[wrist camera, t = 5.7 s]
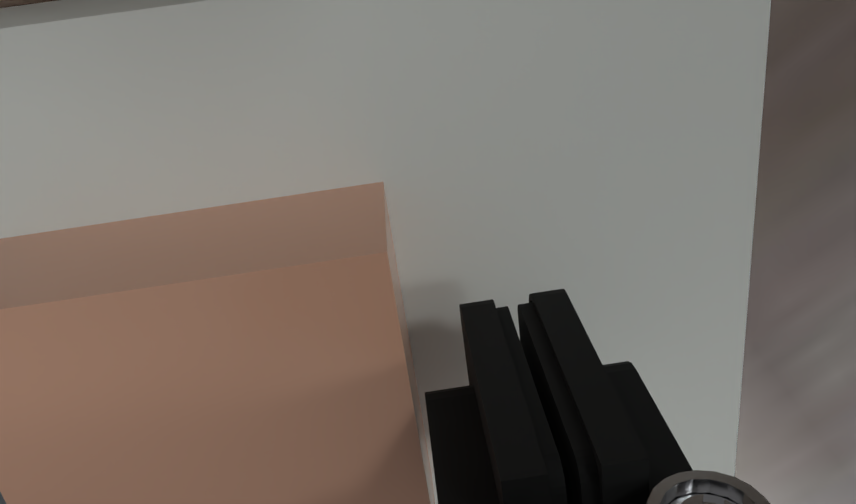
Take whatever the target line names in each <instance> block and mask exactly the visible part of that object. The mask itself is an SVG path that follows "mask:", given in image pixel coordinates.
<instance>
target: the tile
mask: <svg viewBox="0 0 856 504" xmlns="http://www.w3.org/2000/svg"><path fill="white" fill-rule="evenodd" d="M0 492H1V494H2V496H3V498H4V500H5V502H6V504H435V497H434V487H433V478H432V471H431V465H430V459H429V453H428V447H427V441H426V435H425V429H424V423H423V417H422V411H421V405H420V399H419V393H418V387H417V381H416V375H415V369H414V363H413V357H412V351H411V345H410V339H409V333H408V327H407V321H406V315H405V308H404V302H403V296H402V290H401V284H400V278H399V272H398V266H397V260H396V254H395V248H394V242H393V236H392V230H391V224H390V218H389V212H388V206H387V200H386V194H385V188H384V182H377V183H370V184H364V185H357V186H350V187H343V188H337V189H330V190H323V191H316V192H310V193H303V194H296V195H290V196H283V197H276V198H269V199H263V200H256V201H249V202H243V203H236V204H229V205H223V206H216V207H209V208H202V209H196V210H189V211H182V212H176V213H169V214H162V215H156V216H149V217H142V218H135V219H129V220H122V221H115V222H109V223H102V224H95V225H88V226H82V227H75V228H68V229H62V230H55V231H48V232H42V233H35V234H28V235H21V236H15V237H8V238H1V239H0Z"/></svg>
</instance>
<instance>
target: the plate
mask: <svg viewBox="0 0 856 504" xmlns="http://www.w3.org/2000/svg"><path fill="white" fill-rule="evenodd" d="M770 9H771V0H57V1H50V2H42V3H35V4H28V5H20V6H13V7H6V8H0V239H1V238H8V237H15V236H21V235H28V234H35V233H42V232H48V231H55V230H62V229H68V228H75V227H82V226H88V225H95V224H102V223H109V222H115V221H122V220H129V219H135V218H142V217H149V216H156V215H162V214H169V213H176V212H182V211H189V210H196V209H202V208H209V207H216V206H223V205H229V204H236V203H243V202H249V201H256V200H263V199H269V198H276V197H283V196H290V195H296V194H303V193H310V192H316V191H323V190H330V189H337V188H343V187H350V186H357V185H364V184H370V183H377V182H384V188H385V194H386V200H387V206H388V212H389V218H390V224H391V230H392V236H393V242H394V248H395V254H396V260H397V266H398V272H399V278H400V284H401V290H402V296H403V302H404V308H405V315H406V321H407V327H408V333H409V339H410V345H411V351H412V357H413V363H414V369H415V375H416V381H417V387H418V393H419V399H420V405H421V411H422V417H423V423H424V429H425V435H426V441H427V447H428V453H429V459H430V465H431V471H432V478H433V487H434V497H435V504H438V499H437V491H436V483H435V475H434V466H433V458H432V450H431V442H430V434H429V426H428V417H427V409H426V401H425V392H429V391H436V390H442V389H449V388H455V387H462V386H468V385H469V380H468V372H467V364H466V356H465V349H464V341H463V333H462V325H461V317H460V308H459V304H465V303H471V302H478V301H485V300H491V299H493V300H494V303H495V306H496V308H498V307H505V306H508V308H509V310H510V313H511V316H512V319H513V322H514V325H515V328H516V331H517V334H518V337H519V340H520V334H519V322H518V310H517V309H518V304H525V303H529V294H531V293H537V292H544V291H550V290H557V289H565V291H566V292H567V294H568V296H569V298H570V300H571V302H572V304H573V306H574V308H575V310H576V312H577V314H578V316H579V318H580V320H581V322H582V325H583V327H584V329H585V331H586V333H587V335H588V337H589V339H590V341H591V343H592V345H593V347H594V349H595V351H596V353H597V355H598V357H599V359H600V361H601V363H602V365H605V364H612V363H618V362H625V361H629V362H631V363H632V364H633V365H634V367H635V368H636V370H637V372H638V373H639V375H640V377H641V379H642V381H643V382H644V384H645V386H646V388H647V389H648V391H649V393H650V395H651V397H652V398H653V400H654V402H655V404H656V405H657V407H658V409H659V411H660V413H661V414H662V416H663V418H664V420H665V421H666V423H667V425H668V427H669V429H670V430H671V432H672V434H673V436H674V437H675V439H676V441H677V443H678V445H679V446H680V448H681V450H682V452H683V454H684V455H685V457H686V459H687V461H688V462H689V464H690V466H691V468H692V470H702V471H715V472H719V473H723V474H726V475H730V476H733V477H734V476H735V463H736V450H737V437H738V424H739V411H740V398H741V385H742V372H743V359H744V346H745V333H746V320H747V307H748V294H749V281H750V269H751V256H752V243H753V230H754V217H755V204H756V191H757V178H758V165H759V152H760V139H761V126H762V113H763V100H764V87H765V74H766V61H767V48H768V35H769V22H770Z"/></svg>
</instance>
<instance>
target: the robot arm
mask: <svg viewBox="0 0 856 504" xmlns="http://www.w3.org/2000/svg"><path fill="white" fill-rule="evenodd" d="M459 308H460V317H461V325H462V333H463V341H464V349H465V356H466V364H467V372H468V380H469V385H468V386H462V387H455V388H449V389H442V390H436V391H429V392H425V401H426V409H427V417H428V426H429V434H430V442H431V450H432V458H433V466H434V475H435V483H436V491H437V499H438V504H770V503H769V502H768V501H767V499H766V498H765V497H764V496H763V495H761V494H760V493H759V492H758V491H757V490H756V489H754V488H753V487H752V486H751V485H749V484H747V483H745V482H743V481H741V480H739V479H737V478H735V477H733V476H730V475H726V474H723V473H719V472H715V471H702V470H692V468H691V466H690V464H689V462H688V461H687V459H686V457H685V455H684V454H683V452H682V450H681V448H680V446H679V445H678V443H677V441H676V439H675V437H674V436H673V434H672V432H671V430H670V429H669V427H668V425H667V423H666V421H665V420H664V418H663V416H662V414H661V413H660V411H659V409H658V407H657V405H656V404H655V402H654V400H653V398H652V397H651V395H650V393H649V391H648V389H647V388H646V386H645V384H644V382H643V381H642V379H641V377H640V375H639V373H638V372H637V370H636V368H635V367H634V365H633V364H632V363H631V362H629V361H625V362H618V363H612V364H605V365H602V363H601V361H600V359H599V357H598V355H597V353H596V351H595V349H594V347H593V345H592V343H591V341H590V339H589V337H588V335H587V333H586V331H585V329H584V327H583V325H582V322H581V320H580V318H579V316H578V314H577V312H576V310H575V308H574V306H573V304H572V302H571V300H570V298H569V296H568V294H567V292H566V291H565V289H557V290H550V291H544V292H537V293H531V294H529V303H525V304H518V309H517V310H518V322H519V334H520V340H519V337H518V334H517V331H516V328H515V325H514V322H513V319H512V316H511V313H510V310H509V308H508V306H505V307H498V308H496V306H495V303H494V300H493V299H491V300H485V301H478V302H471V303H465V304H459Z"/></svg>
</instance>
